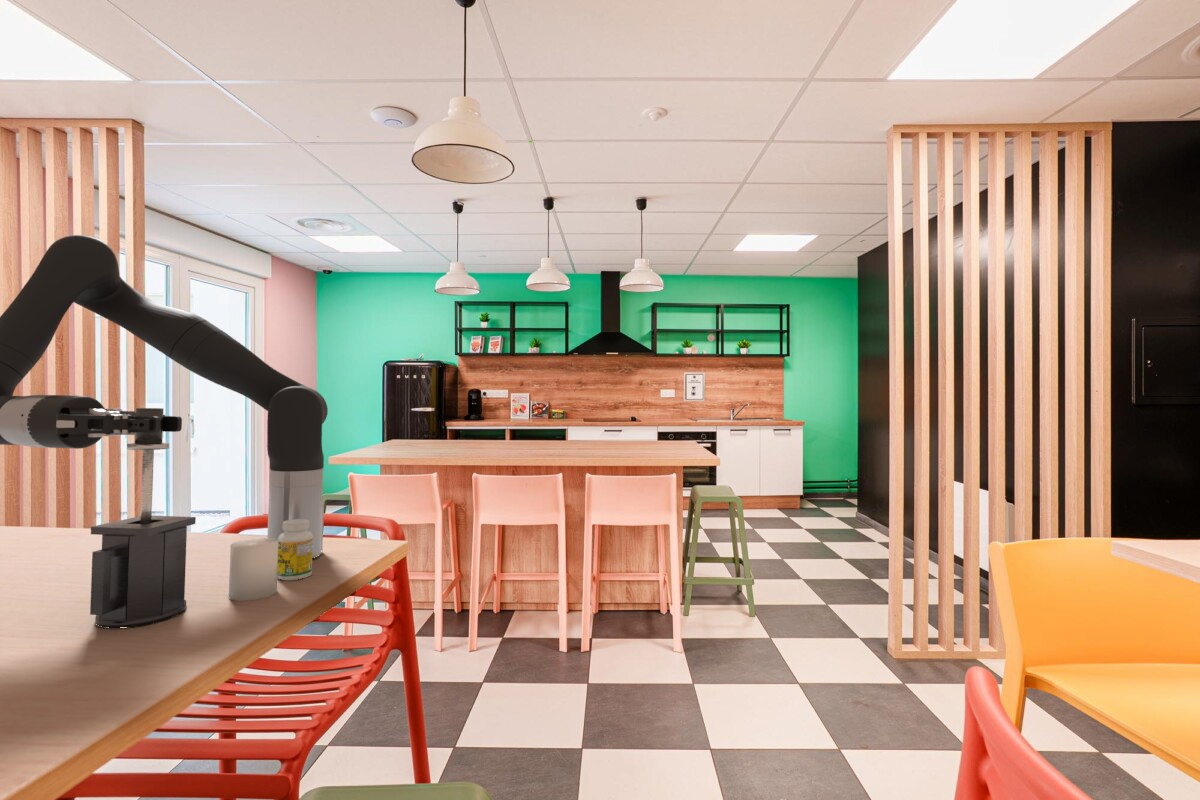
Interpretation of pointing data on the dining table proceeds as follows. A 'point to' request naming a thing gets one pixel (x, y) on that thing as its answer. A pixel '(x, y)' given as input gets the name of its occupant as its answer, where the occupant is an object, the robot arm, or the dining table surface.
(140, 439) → the plunger
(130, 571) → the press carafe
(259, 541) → the white rounded cylinder
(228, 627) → the dining table surface
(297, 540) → the supplement bottle
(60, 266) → the robot arm
